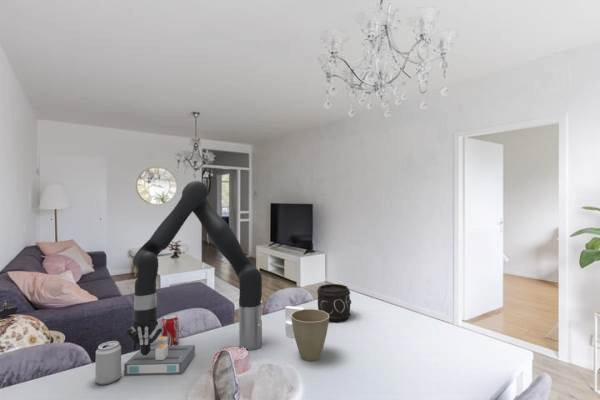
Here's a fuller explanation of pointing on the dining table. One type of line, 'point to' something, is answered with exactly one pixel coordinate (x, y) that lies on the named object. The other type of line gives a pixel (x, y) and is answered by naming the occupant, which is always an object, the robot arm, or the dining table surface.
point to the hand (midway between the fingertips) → (145, 354)
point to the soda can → (170, 328)
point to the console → (160, 361)
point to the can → (108, 362)
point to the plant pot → (310, 332)
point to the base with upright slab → (290, 320)
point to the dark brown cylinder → (334, 301)
